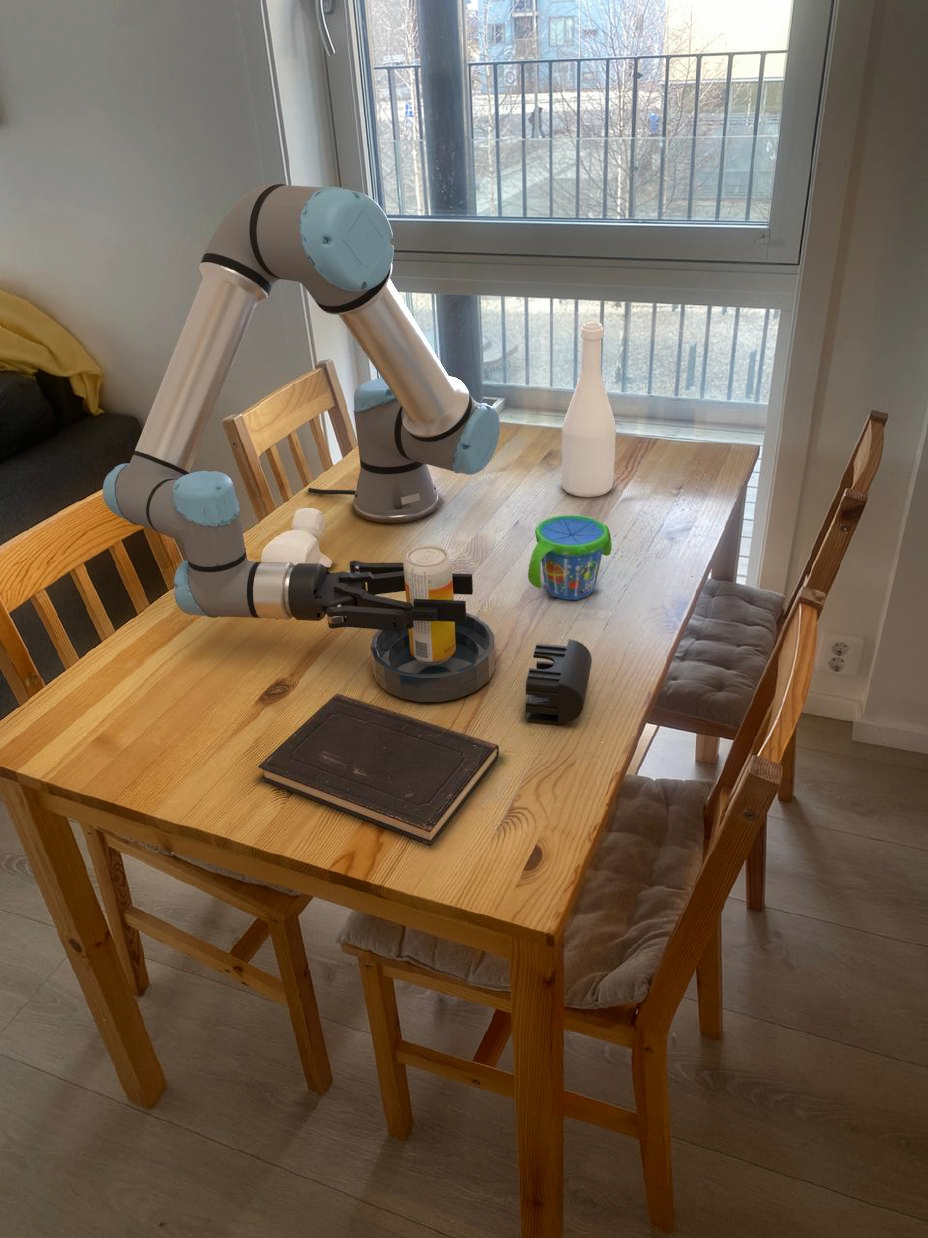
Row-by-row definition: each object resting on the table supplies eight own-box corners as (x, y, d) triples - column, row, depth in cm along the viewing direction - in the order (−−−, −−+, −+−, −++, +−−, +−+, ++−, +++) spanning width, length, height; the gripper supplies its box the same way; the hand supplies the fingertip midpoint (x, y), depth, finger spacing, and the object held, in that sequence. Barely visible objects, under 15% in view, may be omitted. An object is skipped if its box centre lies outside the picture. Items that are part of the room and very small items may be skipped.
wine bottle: (583, 473, 181) (588, 313, 165) (623, 486, 175) (632, 322, 159) (550, 489, 175) (552, 325, 159) (590, 503, 169) (596, 335, 153)
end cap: (582, 731, 115) (584, 686, 112) (525, 725, 117) (525, 680, 113) (591, 683, 124) (592, 640, 120) (537, 678, 125) (537, 635, 121)
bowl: (348, 678, 127) (345, 650, 124) (426, 623, 138) (424, 596, 135) (444, 721, 118) (442, 692, 116) (519, 659, 129) (518, 631, 126)
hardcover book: (430, 846, 100) (429, 830, 99) (261, 780, 110) (258, 765, 109) (499, 757, 112) (499, 742, 111) (340, 705, 122) (338, 690, 120)
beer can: (462, 645, 128) (457, 547, 120) (446, 670, 123) (441, 569, 115) (420, 638, 130) (413, 541, 122) (403, 662, 125) (395, 563, 117)
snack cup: (587, 560, 151) (589, 503, 146) (632, 587, 144) (635, 527, 138) (508, 591, 144) (507, 531, 139) (551, 620, 137) (551, 558, 131)
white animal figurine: (314, 606, 149) (345, 535, 157) (298, 572, 142) (332, 499, 150) (265, 599, 151) (299, 529, 159) (247, 565, 144) (284, 494, 152)
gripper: (316, 580, 134) (478, 585, 131) (277, 655, 118) (460, 664, 115) (310, 532, 130) (477, 537, 127) (268, 604, 114) (457, 611, 111)
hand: (468, 597), depth 121 cm, fingers closed on beer can, 6 cm apart
